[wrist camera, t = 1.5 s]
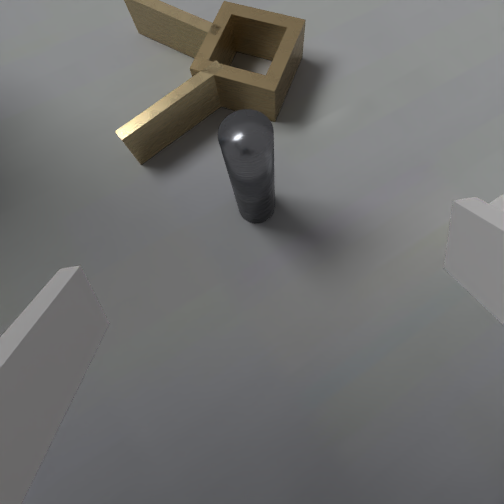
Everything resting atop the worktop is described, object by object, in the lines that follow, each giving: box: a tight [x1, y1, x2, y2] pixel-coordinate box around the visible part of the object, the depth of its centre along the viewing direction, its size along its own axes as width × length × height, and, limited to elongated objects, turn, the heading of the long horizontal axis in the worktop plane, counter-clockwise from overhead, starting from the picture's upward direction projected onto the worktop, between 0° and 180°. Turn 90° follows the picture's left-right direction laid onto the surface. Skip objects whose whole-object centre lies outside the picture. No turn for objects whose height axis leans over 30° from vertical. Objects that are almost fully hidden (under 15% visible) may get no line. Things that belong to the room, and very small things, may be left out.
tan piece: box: [115, 0, 305, 165], centre depth 35 cm, size 20×18×4 cm
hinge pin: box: [218, 109, 275, 223], centre depth 27 cm, size 4×4×12 cm
